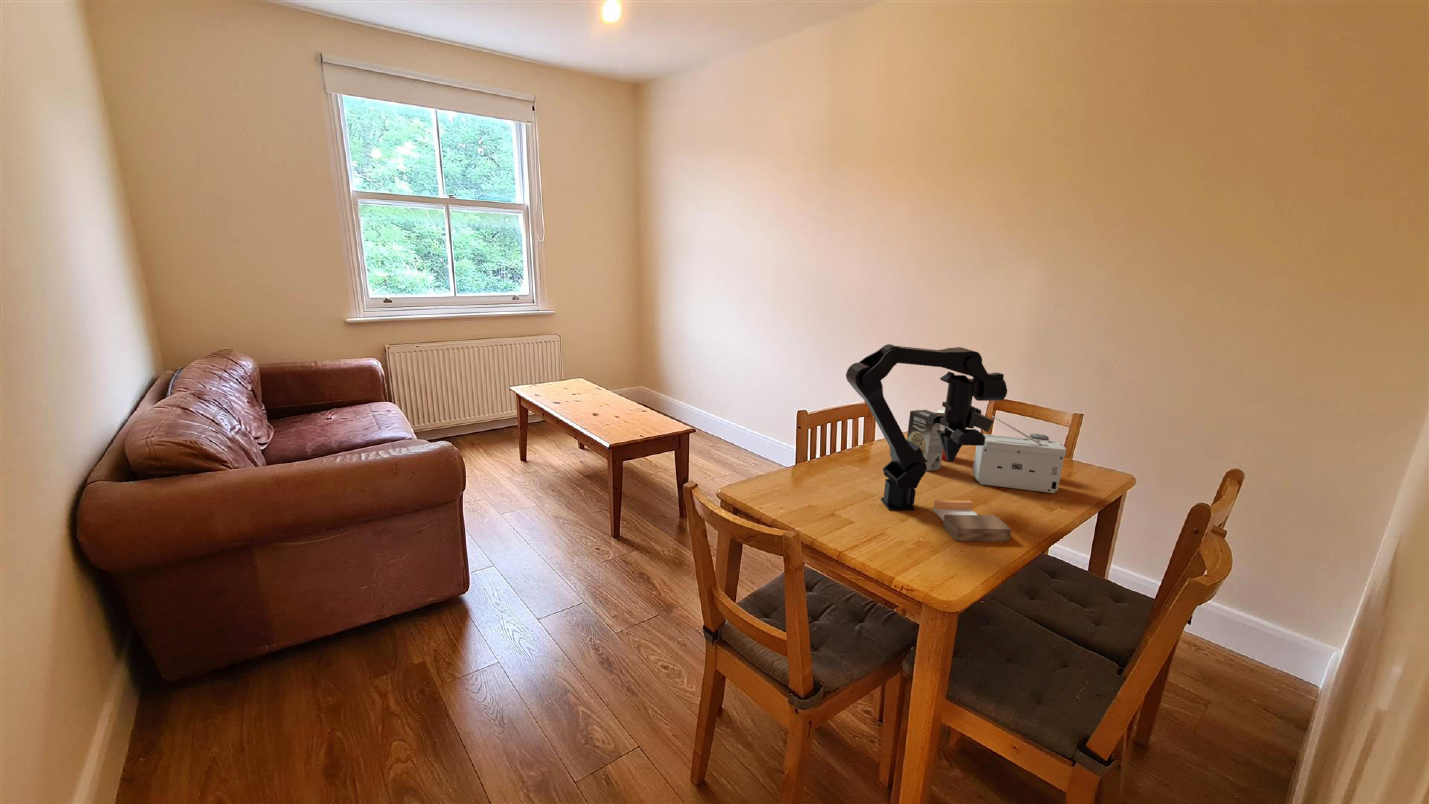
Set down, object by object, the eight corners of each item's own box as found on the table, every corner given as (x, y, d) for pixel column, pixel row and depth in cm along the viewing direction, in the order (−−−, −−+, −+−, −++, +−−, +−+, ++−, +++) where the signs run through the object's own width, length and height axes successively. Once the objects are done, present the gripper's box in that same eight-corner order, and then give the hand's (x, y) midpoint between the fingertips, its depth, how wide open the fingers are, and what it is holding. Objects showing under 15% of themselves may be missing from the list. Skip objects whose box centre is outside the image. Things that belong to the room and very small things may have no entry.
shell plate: (947, 526, 132) (949, 514, 132) (933, 511, 140) (934, 500, 139) (985, 526, 133) (987, 515, 132) (969, 512, 141) (970, 500, 140)
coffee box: (902, 461, 174) (909, 410, 170) (918, 459, 177) (925, 408, 173) (925, 471, 166) (932, 418, 162) (941, 468, 169) (948, 416, 165)
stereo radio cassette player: (1051, 485, 159) (1064, 416, 154) (1060, 496, 152) (1074, 424, 147) (971, 475, 165) (981, 408, 160) (975, 486, 157) (986, 416, 152)
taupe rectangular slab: (956, 541, 125) (957, 528, 124) (942, 526, 132) (944, 514, 131) (1009, 541, 126) (1011, 529, 125) (993, 527, 132) (995, 515, 132)
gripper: (1012, 411, 129) (1001, 476, 133) (972, 392, 147) (964, 449, 151) (964, 410, 128) (955, 475, 132) (930, 391, 146) (923, 448, 150)
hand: (950, 461), depth 141 cm, fingers closed
